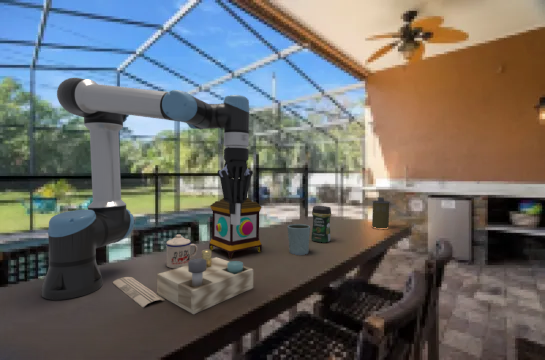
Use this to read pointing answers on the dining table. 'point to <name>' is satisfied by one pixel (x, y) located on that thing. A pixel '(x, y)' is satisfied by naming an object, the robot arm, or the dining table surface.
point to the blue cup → (298, 238)
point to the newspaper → (136, 291)
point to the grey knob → (197, 270)
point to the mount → (203, 286)
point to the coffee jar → (321, 224)
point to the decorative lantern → (235, 227)
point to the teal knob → (235, 267)
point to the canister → (380, 213)
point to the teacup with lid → (179, 252)
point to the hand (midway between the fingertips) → (235, 224)
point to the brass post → (207, 257)
